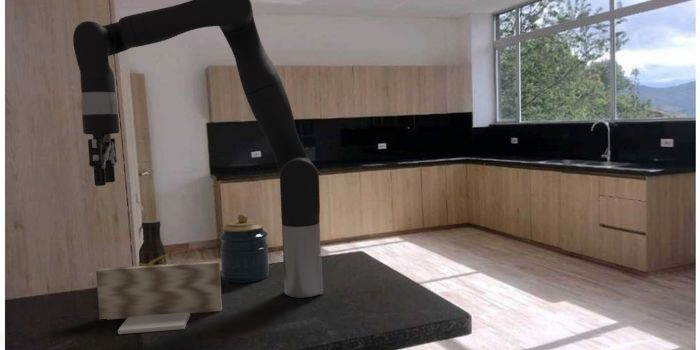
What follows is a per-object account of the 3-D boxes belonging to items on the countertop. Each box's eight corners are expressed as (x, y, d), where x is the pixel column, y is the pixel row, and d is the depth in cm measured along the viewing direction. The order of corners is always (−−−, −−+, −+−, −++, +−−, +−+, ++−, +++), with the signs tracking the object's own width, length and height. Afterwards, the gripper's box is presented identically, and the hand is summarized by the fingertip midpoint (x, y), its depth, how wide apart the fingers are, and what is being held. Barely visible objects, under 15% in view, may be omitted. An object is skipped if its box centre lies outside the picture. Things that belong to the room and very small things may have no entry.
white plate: (190, 315, 118) (190, 312, 118) (184, 328, 110) (184, 325, 110) (128, 320, 117) (128, 316, 116) (118, 334, 109) (117, 330, 109)
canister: (264, 283, 142) (261, 217, 140) (215, 284, 142) (212, 218, 141) (273, 270, 155) (270, 209, 153) (228, 271, 155) (225, 210, 154)
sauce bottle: (159, 309, 123) (154, 224, 121) (135, 308, 124) (129, 223, 123) (174, 300, 129) (169, 219, 128) (151, 299, 131) (146, 219, 129)
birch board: (221, 308, 122) (219, 261, 122) (221, 310, 121) (218, 262, 120) (102, 317, 119) (98, 268, 118) (99, 320, 117) (96, 270, 116)
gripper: (110, 111, 116) (115, 186, 118) (124, 113, 130) (129, 180, 132) (72, 112, 115) (78, 187, 116) (91, 114, 129) (96, 182, 130)
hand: (105, 183), depth 124 cm, fingers open, 8 cm apart
